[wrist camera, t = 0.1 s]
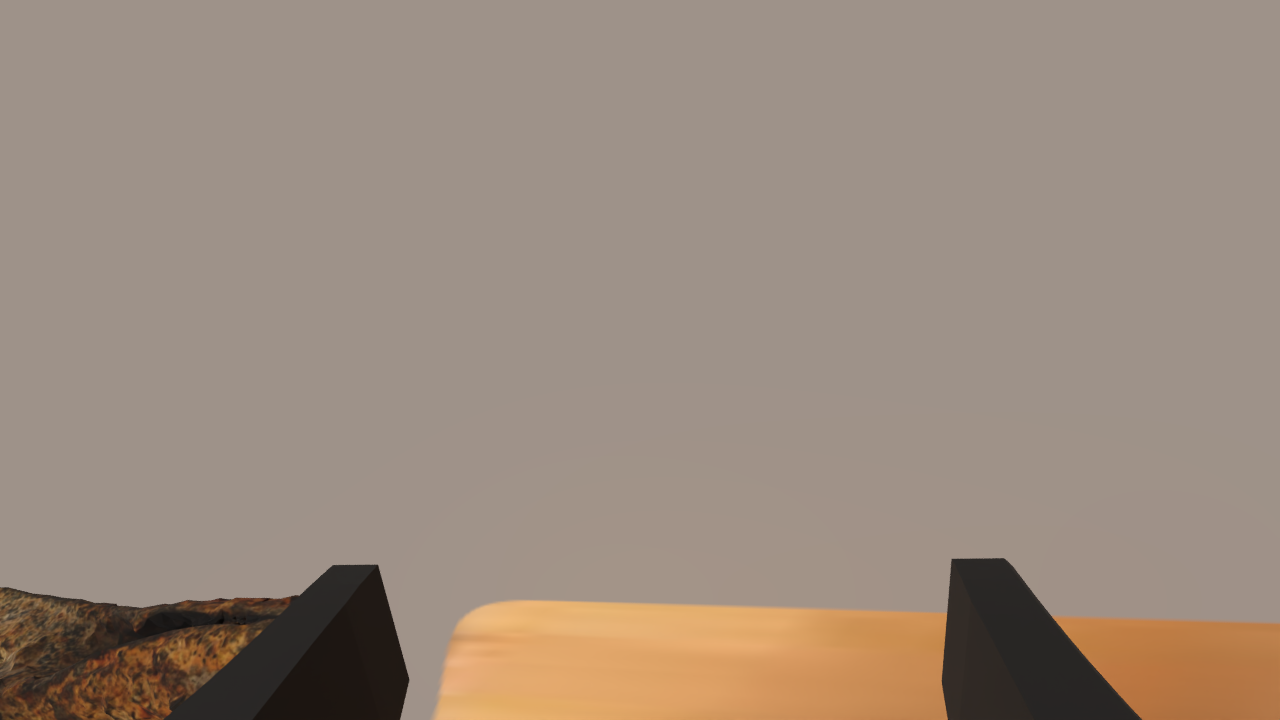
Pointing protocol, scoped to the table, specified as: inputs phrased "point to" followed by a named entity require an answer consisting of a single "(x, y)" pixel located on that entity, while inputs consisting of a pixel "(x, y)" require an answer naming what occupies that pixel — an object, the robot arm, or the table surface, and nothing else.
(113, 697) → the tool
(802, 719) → the table surface
